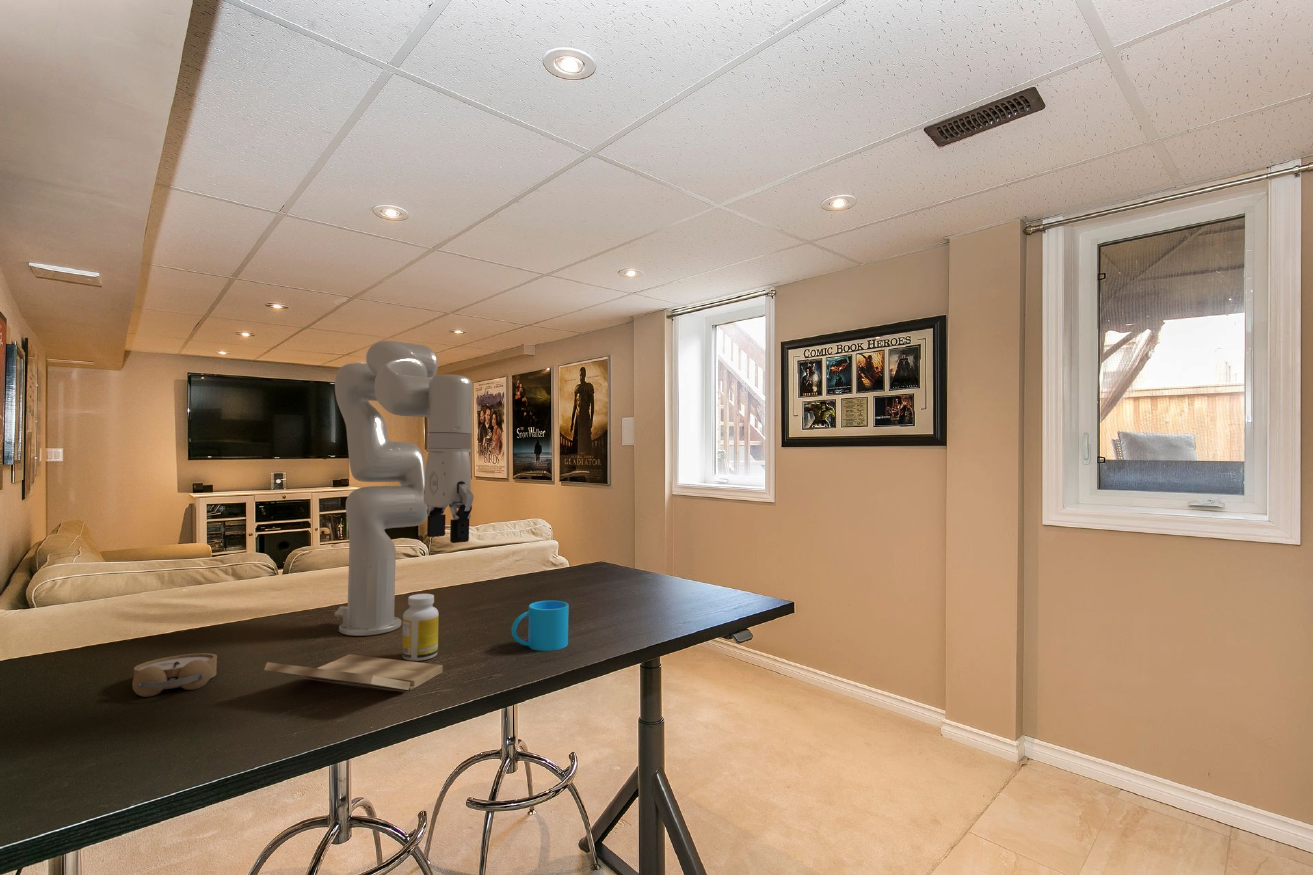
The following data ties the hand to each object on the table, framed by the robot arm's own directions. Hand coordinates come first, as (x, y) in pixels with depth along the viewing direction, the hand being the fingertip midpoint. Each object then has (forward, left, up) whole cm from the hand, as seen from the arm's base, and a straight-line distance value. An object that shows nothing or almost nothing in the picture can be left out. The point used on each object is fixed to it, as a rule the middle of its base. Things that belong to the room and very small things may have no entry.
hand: (447, 539), depth 109 cm
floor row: (-11, -3, -24) cm, 27 cm away
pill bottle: (-10, +7, -24) cm, 27 cm away
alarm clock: (-40, -17, -25) cm, 50 cm away
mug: (+9, +20, -24) cm, 33 cm away
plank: (-11, -13, -22) cm, 28 cm away
